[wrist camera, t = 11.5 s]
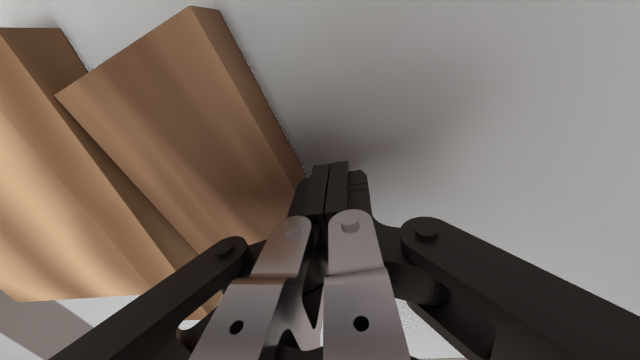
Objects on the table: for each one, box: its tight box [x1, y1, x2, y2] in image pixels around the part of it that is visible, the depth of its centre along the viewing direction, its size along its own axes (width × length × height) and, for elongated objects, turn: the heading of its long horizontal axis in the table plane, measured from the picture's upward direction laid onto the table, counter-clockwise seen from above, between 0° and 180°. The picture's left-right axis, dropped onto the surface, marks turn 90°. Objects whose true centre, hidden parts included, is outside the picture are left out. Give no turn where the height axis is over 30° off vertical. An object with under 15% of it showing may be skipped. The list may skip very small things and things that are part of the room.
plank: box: [54, 6, 329, 275], centre depth 13 cm, size 2×14×7 cm
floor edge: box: [0, 28, 223, 320], centre depth 15 cm, size 16×17×2 cm
